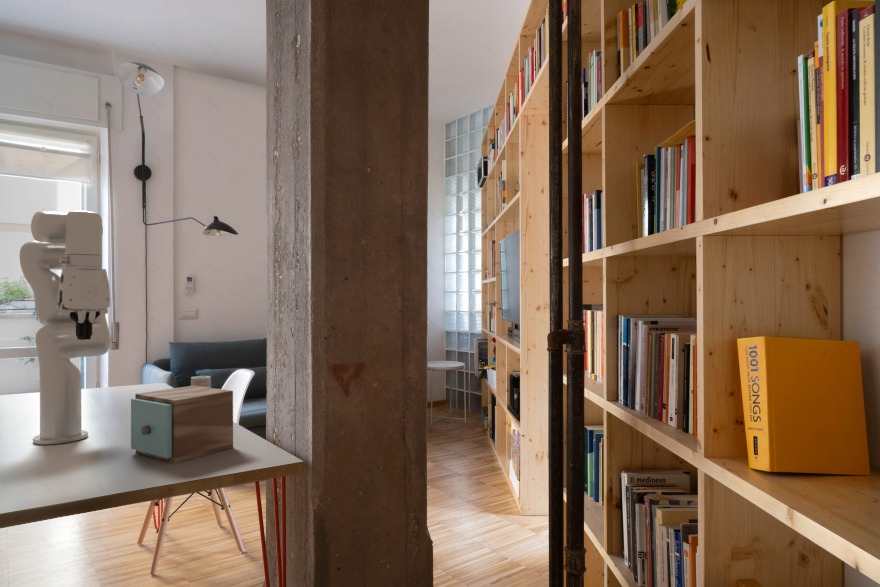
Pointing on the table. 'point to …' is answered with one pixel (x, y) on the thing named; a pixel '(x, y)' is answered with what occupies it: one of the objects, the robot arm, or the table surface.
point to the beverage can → (201, 381)
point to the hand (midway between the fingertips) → (84, 339)
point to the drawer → (151, 427)
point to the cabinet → (196, 420)
